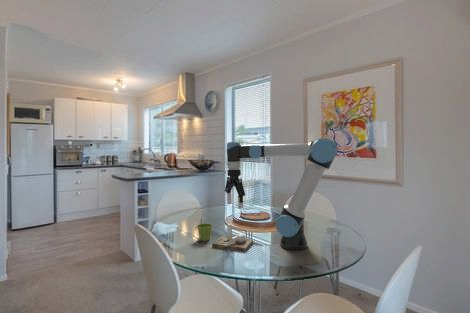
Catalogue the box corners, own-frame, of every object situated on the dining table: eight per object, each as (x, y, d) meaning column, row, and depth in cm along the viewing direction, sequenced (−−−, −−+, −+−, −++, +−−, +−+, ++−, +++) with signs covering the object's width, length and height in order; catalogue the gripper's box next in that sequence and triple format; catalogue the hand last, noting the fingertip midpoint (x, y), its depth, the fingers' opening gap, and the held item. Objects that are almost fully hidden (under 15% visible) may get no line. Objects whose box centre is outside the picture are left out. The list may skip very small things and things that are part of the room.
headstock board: (253, 243, 159) (253, 239, 159) (244, 253, 145) (244, 248, 144) (222, 239, 166) (222, 235, 166) (210, 248, 152) (210, 244, 152)
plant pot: (198, 242, 161) (197, 228, 160) (196, 237, 170) (195, 224, 169) (213, 241, 163) (213, 227, 163) (210, 236, 172) (210, 222, 172)
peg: (241, 238, 161) (241, 220, 160) (247, 241, 156) (247, 222, 156) (221, 244, 152) (220, 224, 151) (226, 247, 147) (226, 227, 147)
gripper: (218, 168, 162) (219, 203, 163) (238, 170, 140) (239, 211, 141) (229, 167, 166) (230, 201, 166) (250, 169, 144) (251, 209, 144)
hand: (234, 206), depth 154 cm, fingers open, 13 cm apart
